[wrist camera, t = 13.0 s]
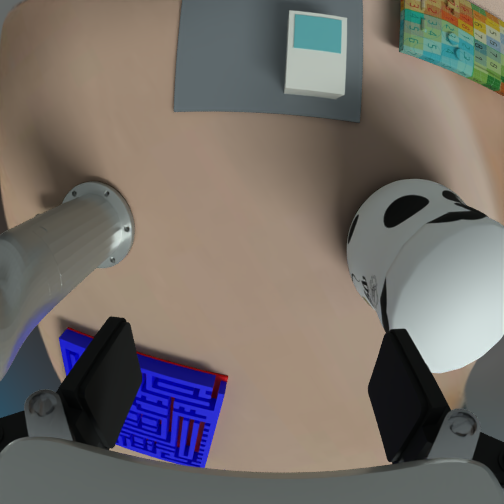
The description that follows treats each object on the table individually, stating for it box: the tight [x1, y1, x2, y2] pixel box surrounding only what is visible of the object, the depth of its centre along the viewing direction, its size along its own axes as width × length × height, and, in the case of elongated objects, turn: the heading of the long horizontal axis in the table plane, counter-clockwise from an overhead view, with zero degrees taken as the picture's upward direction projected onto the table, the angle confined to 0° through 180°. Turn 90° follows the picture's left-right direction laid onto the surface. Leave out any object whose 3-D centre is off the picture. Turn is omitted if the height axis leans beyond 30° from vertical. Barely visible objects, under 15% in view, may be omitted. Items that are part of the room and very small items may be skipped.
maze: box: [59, 327, 228, 468], centre depth 53 cm, size 30×30×4 cm
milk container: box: [347, 179, 504, 373], centre depth 30 cm, size 17×17×18 cm
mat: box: [174, 0, 363, 123], centre depth 31 cm, size 22×18×1 cm
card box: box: [284, 10, 347, 99], centre depth 29 cm, size 9×6×5 cm, turn 177°
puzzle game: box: [399, 0, 504, 96], centre depth 26 cm, size 12×5×20 cm
